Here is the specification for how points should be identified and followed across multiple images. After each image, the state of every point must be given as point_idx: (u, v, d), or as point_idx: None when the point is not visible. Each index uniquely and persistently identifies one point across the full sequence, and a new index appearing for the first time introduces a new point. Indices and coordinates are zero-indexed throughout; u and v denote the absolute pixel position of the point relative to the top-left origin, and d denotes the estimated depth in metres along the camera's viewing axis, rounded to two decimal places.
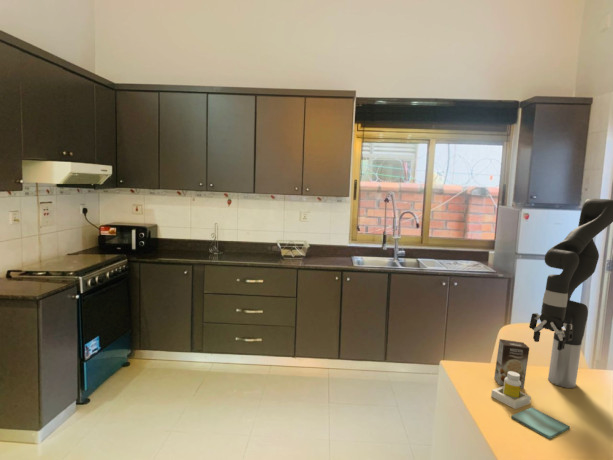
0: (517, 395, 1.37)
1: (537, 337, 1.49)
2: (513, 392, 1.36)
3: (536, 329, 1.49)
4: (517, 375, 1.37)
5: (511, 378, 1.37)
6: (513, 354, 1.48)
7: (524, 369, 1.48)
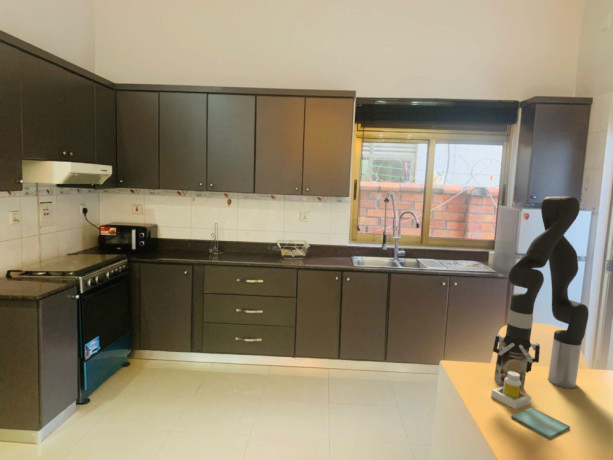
0: (517, 395, 1.37)
1: None
2: (513, 392, 1.36)
3: None
4: (517, 375, 1.37)
5: (511, 378, 1.37)
6: (513, 354, 1.48)
7: (524, 369, 1.48)
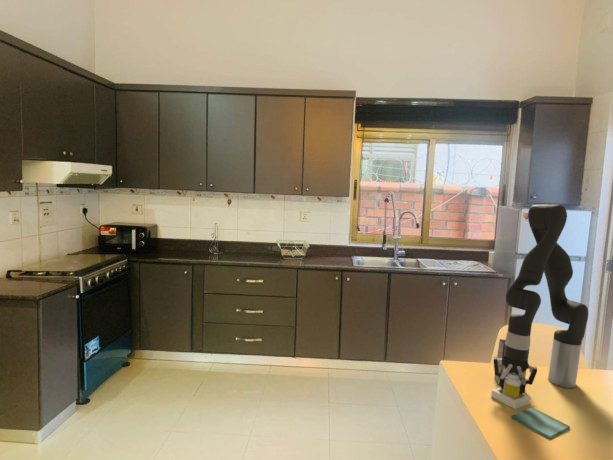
0: (517, 395, 1.37)
1: None
2: (513, 392, 1.36)
3: None
4: (517, 375, 1.37)
5: (511, 378, 1.37)
6: None
7: None
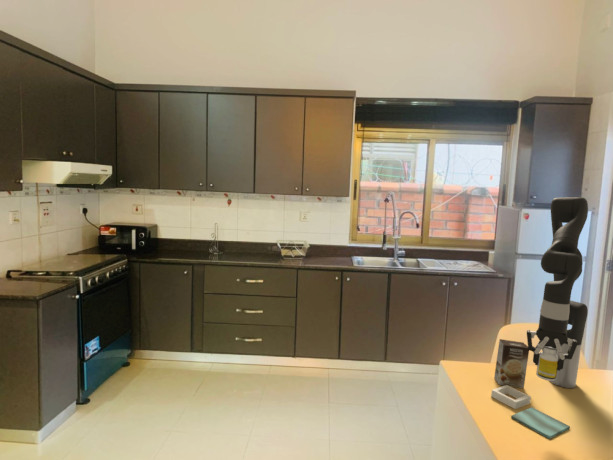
0: (554, 371, 1.22)
1: None
2: (550, 368, 1.21)
3: None
4: (554, 349, 1.22)
5: (547, 352, 1.22)
6: (513, 354, 1.48)
7: (524, 369, 1.48)
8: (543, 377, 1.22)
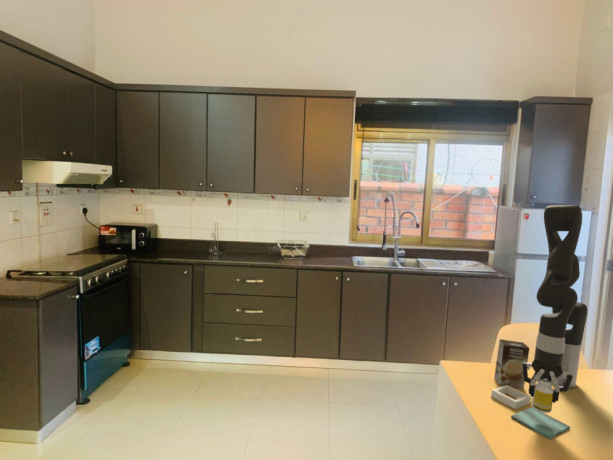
0: (549, 404, 1.23)
1: (553, 395, 1.24)
2: (545, 400, 1.22)
3: None
4: (549, 381, 1.23)
5: (543, 385, 1.23)
6: (513, 354, 1.48)
7: None
8: (538, 409, 1.23)
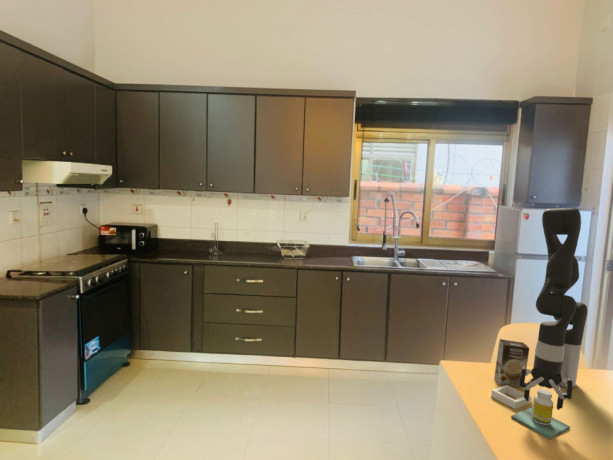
0: (549, 416, 1.23)
1: (557, 402, 1.23)
2: (545, 412, 1.23)
3: None
4: (549, 394, 1.24)
5: (542, 397, 1.24)
6: (513, 354, 1.48)
7: None
8: (538, 421, 1.24)
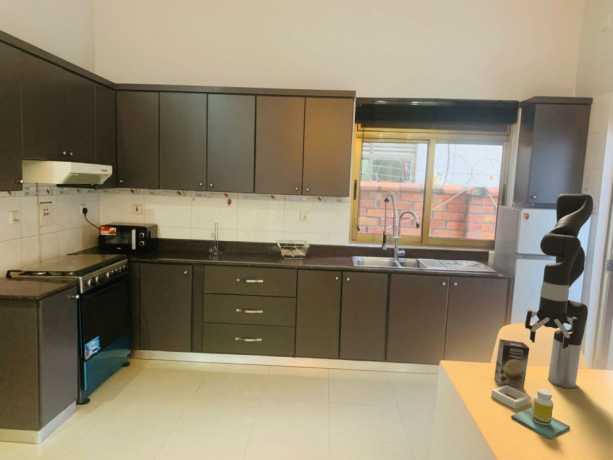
0: (549, 416, 1.23)
1: (563, 342, 1.26)
2: (545, 412, 1.23)
3: None
4: (549, 394, 1.24)
5: (542, 397, 1.24)
6: (513, 354, 1.48)
7: (524, 369, 1.48)
8: (538, 421, 1.24)
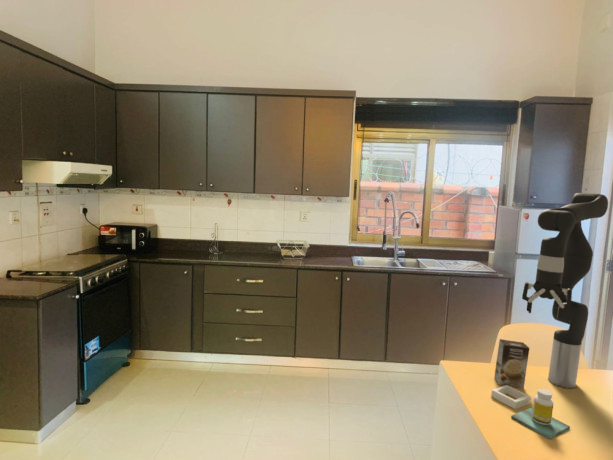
0: (549, 416, 1.23)
1: None
2: (545, 413, 1.23)
3: None
4: (549, 394, 1.24)
5: (542, 397, 1.24)
6: (513, 354, 1.48)
7: (524, 369, 1.48)
8: (538, 421, 1.24)
